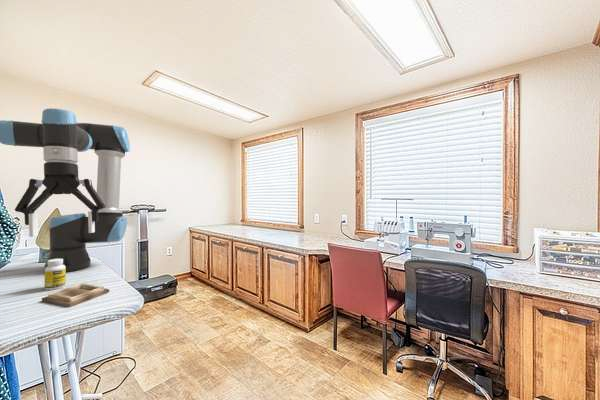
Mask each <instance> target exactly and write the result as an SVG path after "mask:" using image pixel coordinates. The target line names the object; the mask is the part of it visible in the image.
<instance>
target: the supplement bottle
mask: <svg viewBox="0 0 600 400" xmlns="http://www.w3.org/2000/svg"><path fill="white" fill-rule="evenodd" d="M47 264H48V267H46V268H45V271H44V289H45V290H46V291H50V290H51V291H53V290H54V291H55V290H58V289H59V290H60V289H61V288H64V287H66V273H67V272H66V267H65V265H62V264H63V259H51V260H48V262H47Z"/></svg>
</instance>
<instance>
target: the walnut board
mask: <svg viewBox="0 0 600 400" xmlns="http://www.w3.org/2000/svg"><path fill="white" fill-rule="evenodd" d="M108 292H109V293H110V289H108V288H105V286H101V285H94V284H89V283H80V284H76V285H73V286H70V287H67V288H64V289H61V290H60V289H59V290H57V291H53V292H51V293H48V294H47V296H45V297H41V302H44V303H49V304H52V305H53V304H54V305H57V306H64V307H68V308H71V307H74V306H77V305H80V304H82V303H85V302H87V301H89V300H92V299H95V298H98V297H101V296H103V295H106V294H108Z"/></svg>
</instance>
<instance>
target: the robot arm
mask: <svg viewBox="0 0 600 400" xmlns="http://www.w3.org/2000/svg"><path fill="white" fill-rule="evenodd" d="M0 143H1V145H5V146H12V147H13V146H14V147H29V148H30V147H31V148H32V147H33V148H42V149H43V160H44V161H43V162H44V163H43V175H44V176H43V177H44V178H43V179H35V178H30V179H29V180H28V187H27V188H26V190H25V192H24V194H23V195H22V197H21V198H20V200H19V202H18V203H17V204H16V206H15V208H14V211H15V212H17V213H22V214H23V215H24V225H25V226H28V231H29V232H28V235H29V238H33V237H39V225H38V223H39V222H38V221H39V220H38V213H35V212H36V211H37V210H38V209H39V208H40V207H41V206H42V205H43V204H44V203H45V202H46V201H47V200H48V199H49V198H50V197H51V196H53V195H71V194H72V195H73V196H74V197H76V198H77V199H78V200H80V201H81V202H82V203H83V204H84V205H85V206H86V207H87V208H88V209H89V210H90V211H87V214H86V213H85V212H84V213H83V212H82V213H74V214H66V215H65V214H64V215H59V216H54V217H52V218H50V220H49V228H48V229H49V254H48V255H47V258H46V261H45V264H44V265H43V267H44V268H43V271H44V272H45V268H46V267H48V264H47V262H48V260H51V259H63V264H62V265H65V267H66V273H69V272H74V271H75V272H76V271H79V270H83V269H87V268H89V267H90V266H91V263H92V261H91V258H90V254H89V253H88V250H87V248H86V246H87V245H86V244H95V243H96V244H98V243H99V244H100V243H108V244H109V243H117V242H119V241H122V240H123V238H124V236H125V234H126V230H127V227H128V226H127V224H128V220H127V219H128V218H127V217H126V216H125V215H124V213H123V212H122V210H121V209H120V192H121V191H120V190H121V168H122V167H121V166H122V159H123V158H124V157H125V156H126V153H129V152H130V149H131V147H130V146H131V145H130V144H131V143H130V139H129V135H128V131H127V130H126V128H124V127H123V126H118V125H109V124H99V123H89V122H78V121H77V116H76V114H75V113H74V112H72V111H69V110H66V109H61V108H53V107H51V108H49V107H48V108H45V109H43V110H42V115H41V123H38V122H29V121H28V122H25V121H16V120H6V119H5V120H2V119H1V120H0ZM88 150H94V152H93V153H94V154H95V156H97V173H96V174H97V176H96V177H97V178H96V189H95V188H94V186H93V181H92V179H88V178H83V179H79V165H78V164H77V163H78V160H79V159H78V157H79V156H78V152H79V153H81V152H84V153H85V152H86V151H88ZM42 185H43V186H44V187H45V189H44V190H43V191H41V193H40V194H39V195H38V196H37V197H36V198H35V199H34V197H35V195H36V194H37V192H38V190H39V188H41V187H42ZM80 185H81V186H82V187H85V189H86V192H87V193H88V194H89V196H90V198H91V199H92V201H93V202H92V201H91V200H90V199H89V198H88V197H87V196H86V195H84V193H82V191H81V190H80V189H79V188H78V187H79V186H80ZM33 199H34V200H33ZM32 200H33V201H32Z"/></svg>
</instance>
